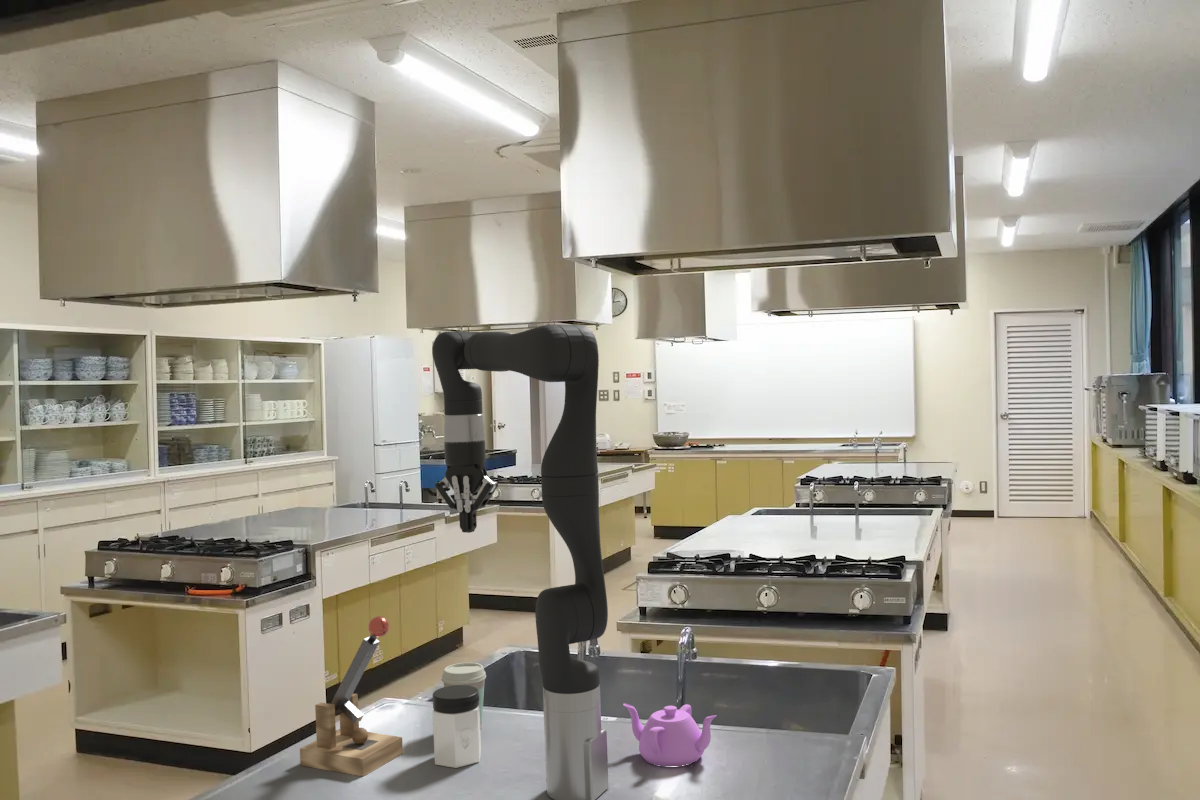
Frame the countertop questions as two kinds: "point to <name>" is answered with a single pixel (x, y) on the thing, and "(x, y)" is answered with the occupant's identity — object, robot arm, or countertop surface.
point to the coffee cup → (466, 678)
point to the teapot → (671, 736)
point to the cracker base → (347, 744)
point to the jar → (456, 726)
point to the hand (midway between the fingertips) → (468, 531)
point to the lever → (358, 670)
